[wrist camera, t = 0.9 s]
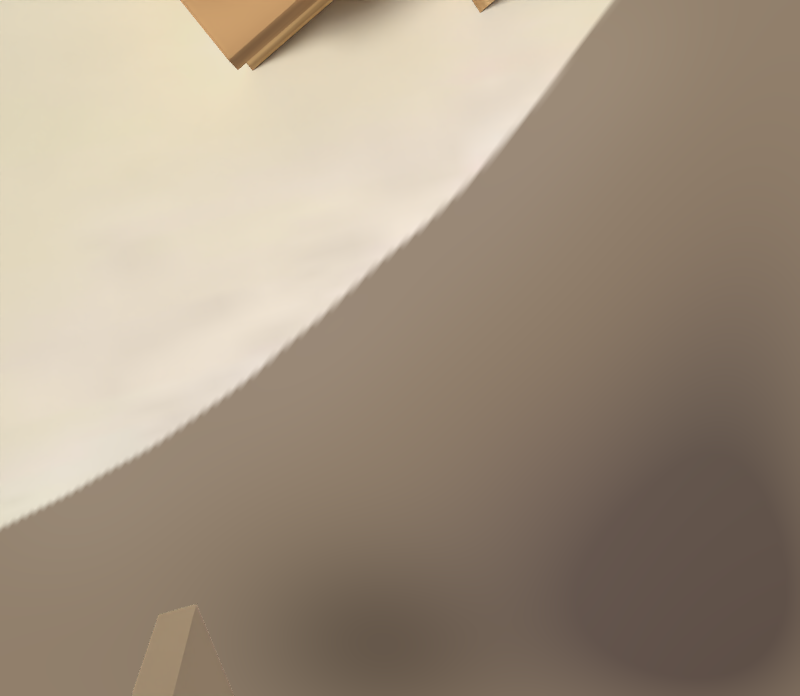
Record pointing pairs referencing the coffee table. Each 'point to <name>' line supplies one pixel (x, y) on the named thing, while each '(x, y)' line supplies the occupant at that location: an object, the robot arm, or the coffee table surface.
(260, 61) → the open wooden box
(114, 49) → the coffee table surface
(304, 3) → the lid
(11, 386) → the coffee table surface
